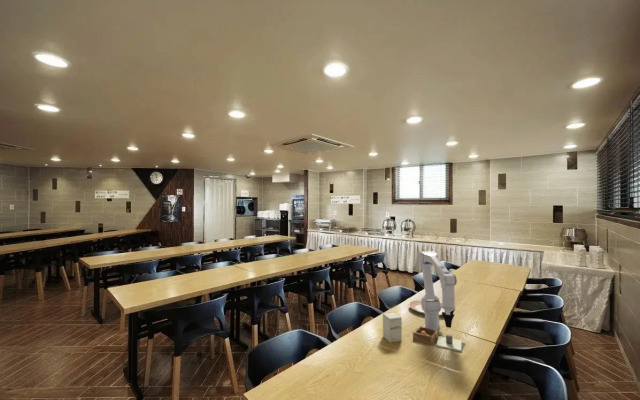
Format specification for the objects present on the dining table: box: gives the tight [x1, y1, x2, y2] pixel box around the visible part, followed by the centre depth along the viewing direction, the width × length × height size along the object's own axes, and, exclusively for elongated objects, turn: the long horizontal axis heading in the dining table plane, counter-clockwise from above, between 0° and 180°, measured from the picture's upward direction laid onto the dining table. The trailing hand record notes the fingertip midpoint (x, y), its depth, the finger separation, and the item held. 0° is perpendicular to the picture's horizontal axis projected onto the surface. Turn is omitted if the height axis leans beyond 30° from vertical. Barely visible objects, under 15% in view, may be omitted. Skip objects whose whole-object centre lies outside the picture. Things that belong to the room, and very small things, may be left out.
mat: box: [434, 342, 466, 354], centre depth 139 cm, size 12×12×1 cm
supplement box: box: [382, 312, 403, 343], centre depth 146 cm, size 7×7×13 cm
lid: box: [436, 334, 463, 353], centre depth 139 cm, size 11×11×4 cm
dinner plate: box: [408, 299, 445, 317], centre depth 187 cm, size 27×27×3 cm
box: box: [412, 325, 439, 346], centre depth 146 cm, size 10×10×4 cm
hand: (448, 324), depth 140 cm, fingers open, 7 cm apart
